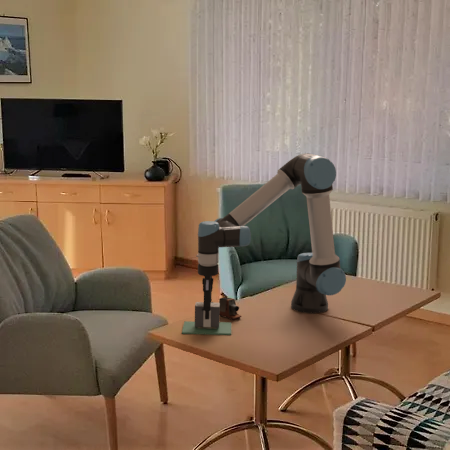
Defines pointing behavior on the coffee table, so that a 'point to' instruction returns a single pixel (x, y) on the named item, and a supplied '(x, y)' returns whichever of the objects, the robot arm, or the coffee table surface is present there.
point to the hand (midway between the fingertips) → (207, 324)
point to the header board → (207, 329)
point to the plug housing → (214, 314)
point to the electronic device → (229, 308)
